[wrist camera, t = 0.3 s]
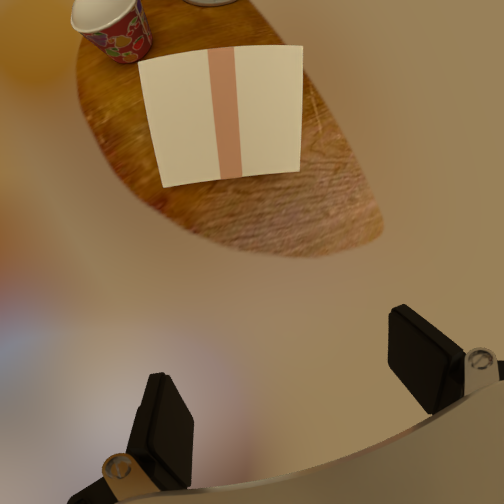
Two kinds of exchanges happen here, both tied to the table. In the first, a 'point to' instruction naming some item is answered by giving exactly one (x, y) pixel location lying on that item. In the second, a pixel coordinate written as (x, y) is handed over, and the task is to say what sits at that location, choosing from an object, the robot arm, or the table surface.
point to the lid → (224, 112)
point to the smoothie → (114, 27)
